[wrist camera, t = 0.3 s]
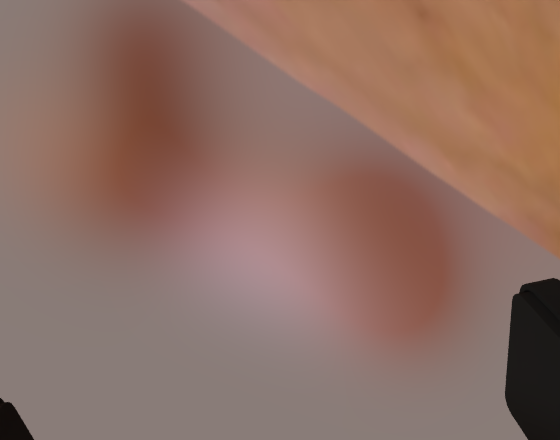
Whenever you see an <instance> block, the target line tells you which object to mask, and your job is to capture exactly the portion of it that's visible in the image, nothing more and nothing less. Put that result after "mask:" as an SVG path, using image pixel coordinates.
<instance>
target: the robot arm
mask: <svg viewBox="0 0 560 440" xmlns="http://www.w3.org/2000/svg"><path fill="white" fill-rule="evenodd" d="M505 398H506V402H507V406H508V408H509V410H510V412H511V414H512V416H513V417H514V419H515V420H516V422H517V423H518V425H519V426H520V428H521V429H522V431H523V432H524V434H525V436H526V437H527V439H528V440H560V280H558V279H555V278H552V279H547V280H542V281H538V282H532V283H528V284H524V285H522V287H521V289H520V292H519V294H515V295H514V296H513V299H512V310H511V323H510V336H509V349H508V361H507V375H506V387H505ZM0 440H34V439H33V437H32V435H31V434H30V433H29V430H28V429H27V427H26V425H25V424H24V422H23V420H22V419H21V417H20V415H19V414H18V412H17V410H16V409H15V407H14V406H13V405H12V403H10V402H4V401H3V400H2V399H1V398H0Z"/></svg>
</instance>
